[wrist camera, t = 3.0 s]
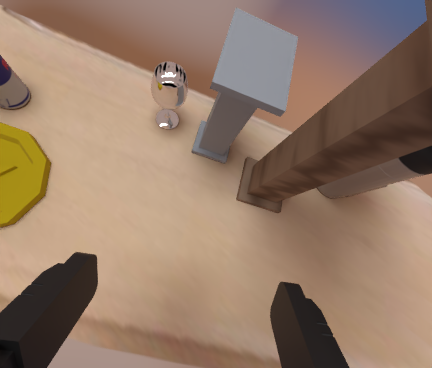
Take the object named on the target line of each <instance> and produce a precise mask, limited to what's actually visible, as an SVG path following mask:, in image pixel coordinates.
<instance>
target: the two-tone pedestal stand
mask: <svg viewBox="0 0 432 368" xmlns="http://www.w3.org/2000/svg"><path fill="white" fill-rule="evenodd" d="M425 5H426V14H427V21H426V22H425V23H424V24H422V25H421V26H420V27H419V28H418V29H416V30H415V31H414V32H413V33H411V34H410V35H409V36H408V37H407V38H406V39H404V40H403V41H402V42H401V43H399V44H398V45H397V46H396V47H395V48H393V49H392V50H391V51H390V52H389V53H388V54H386V55H385V56H384V57H383V58H382V59H380V60H379V61H378V62H377V63H376V64H374V65H373V66H372V67H371V68H370V69H368V70H367V71H366V72H365V73H364V74H362V75H361V76H360V77H359V78H358V79H356V80H355V81H354V82H353V83H352V84H350V85H349V86H348V87H347V88H346V89H344V90H343V91H342V92H341V93H340V94H338V95H337V96H336V97H335V98H334V99H333V100H331V101H330V102H329V103H328V104H327V105H325V106H324V107H323V108H322V109H320V110H319V111H318V112H317V113H316V114H314V115H313V116H312V117H311V118H310V119H309V120H307V121H306V122H305V123H304V124H303V125H301V126H300V127H299V128H298V129H297V130H295V131H294V132H293V133H292V134H291V135H289V136H288V137H287V138H286V139H285V140H283V141H282V142H281V143H280V144H279V145H277V146H276V147H275V148H274V149H273V150H271V151H270V152H269V153H268V154H267V155H265V156H264V157H263V158H262V159H261V160H259V161H257V160H254V159H252V158H249V157H247V158H246V159H245V163H244V167H243V172H242V176H241V181H240V185H239V190H238V194H237V199H236V200H238V201H242V202H245V203H248V204H251V205H254V206H257V207H260V208H264V209H267V210H270V211H273V212H276V213H279V212H281V206H282V200H284V199H286V198H289V197H292V196H294V195H297V194H300V193H303V192H305V191H308V190H311V189H314V188H316V187H319V186H322V185H325V184H327V183H330V182H333V181H336V180H338V179H341V178H344V177H347V176H349V175H352V174H355V173H358V172H360V171H363V170H366V169H369V168H371V167H374V166H377V165H379V164H382V163H385V162H388V161H390V160H393V159H396V158H399V157H401V156H404V155H407V154H410V153H412V152H415V151H418V150H421V149H423V148H426V147H429V146H432V0H425Z"/></svg>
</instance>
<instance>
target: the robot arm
mask: <svg viewBox="0 0 432 368" xmlns="http://www.w3.org/2000/svg"><path fill="white" fill-rule="evenodd" d="M431 173H432V146H429V147H426V148H423V149H421V150H418V151H415V152H412V153H410V154H407V155H404V156H401V157H399V158H396V159H393V160H390V161H388V162H385V163H382V164H379V165H377V166H374V167H371V168H369V169H366V170H363V171H360V172H358V173H355V174H352V175H349V176H347V177H344V178H341V179H338V180H336V181H333V182H330V183H327V184H325V185H322V186H319V187H317V188H318V189H319V191H320V192H321V193H322V194H324V195H325V196H327V197H330V198H340V197H344V196H345V197H348V196H352V195H356V194H360V193H364V192H367V191H371V190H375V189H379V188H383V187H386V186H387V185H389V184H393V183H397V182H400V181H404V180H408V179H411V178H415V177H419V176H423V175H426V174H431ZM97 285H98V274H97V256H96V255H94V254H87V253H80V252H76V253H74V254H73V255H72V256H71V257H70V258H69V259H68V260H67V261H66V262H65V263H64V264H61V263H58V264H56V265H54V266H52V267H51V268H49V269H47V270H45V271H44V272H43V273H41V274H40V275H39V276H38V277H37V278H36V279H35V280H34V281H33V282H32V284H31V285H29V286H28V287H27V288H26V289H25V290H24V291H22V293H21V295H18V296H17V297H16V298H15V299H14V300H13V301H12V302H11V303H10V304H9V305H8V306H7V307H6V308H5V309H4V310H2V311H1V312H0V368H47V367H48V365H49V364H50V362H51V361H52V359H53V358H54V356H55V355H56V353H57V352H58V350H59V348H60V347H61V345H62V344H63V342H64V341H65V339H66V338H67V336H68V335H69V333H70V332H71V330H72V329H73V327H74V326H75V324H76V323H77V321H78V319H79V318H80V316H81V315H82V313H83V312H84V310H85V309H86V307H87V306H88V304H89V303H90V301H91V300H92V298H93V296H94V294H95V292H96V289H97ZM270 318H271V324H272V329H273V333H274V337H275V341H276V345H277V350H278V354H279V358H280V362H281V366H282V368H349V366H348V364H347V362H346V360H345V358H344V356H343V354H342V352H341V350H340V348H339V346H338V344H337V342H336V340H335V338H334V337H333V334H332V332H331V330H330V328H329V326H328V325H327V322H326V320H325V317H324V315H323V313H322V311H321V310H320V309H319V308H318V306H317V305H316V304H315V303H314V302H313V301H312V300H311V299H308V298H305V295H304V293H303V291H302V289H301V287H300V285H299V284H294V283H287V282H280V283H279V285H278V288H277V291H276V294H275V297H274V300H273V303H272V306H271V312H270Z"/></svg>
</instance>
